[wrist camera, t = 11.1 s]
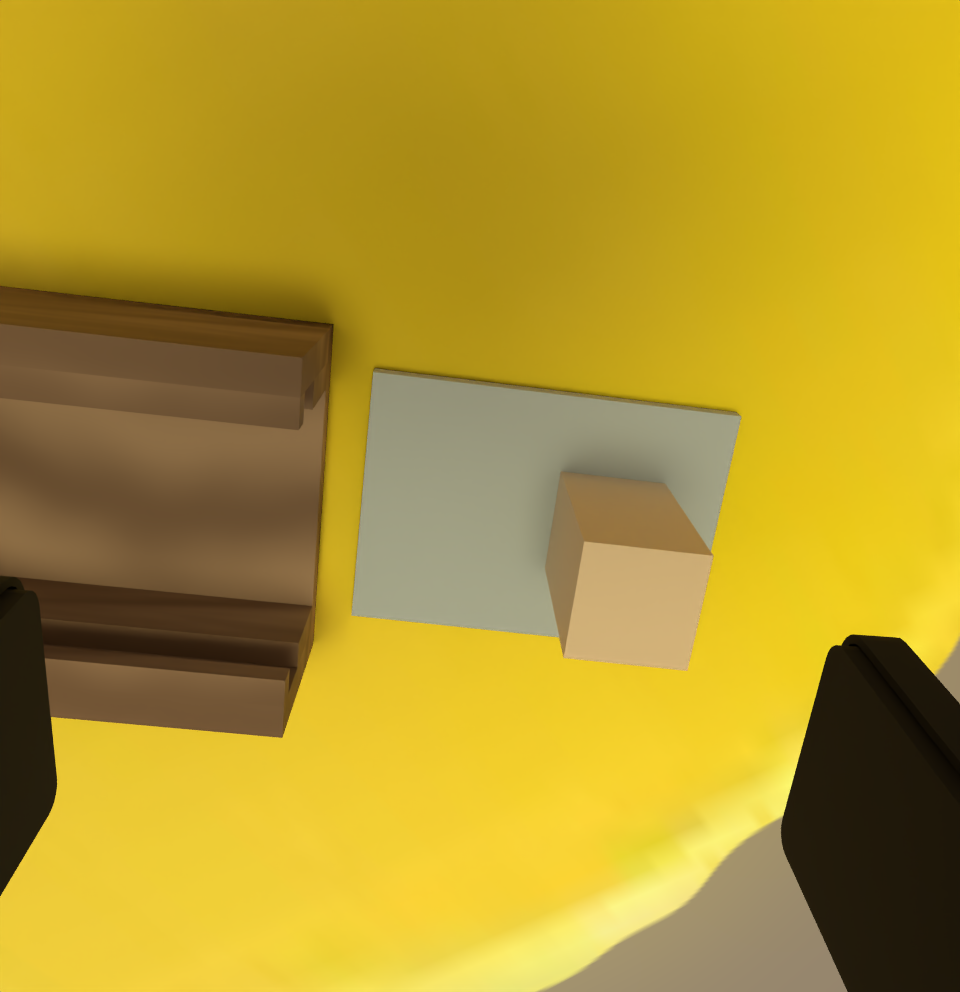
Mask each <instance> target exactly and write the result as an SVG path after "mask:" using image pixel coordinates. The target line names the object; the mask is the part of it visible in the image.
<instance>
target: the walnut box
mask: <svg viewBox="0 0 960 992" xmlns="http://www.w3.org/2000/svg"><path fill="white" fill-rule="evenodd" d="M333 325H334V324H326V323H317V322H308V321H300V320H291V319H282V318H273V317H265V316H256V315H247V314H238V313H230V312H221V311H212V310H204V309H195V308H186V307H177V306H169V305H160V304H151V303H142V302H134V301H125V300H116V299H107V298H99V297H90V296H81V295H72V294H64V293H55V292H46V291H38V290H29V289H20V288H11V287H3V286H0V576H9V577H17V578H18V579H19V580H20V581H21V583H22V585H23V587H24V590H31V591H34V592H35V593H36V595H37V597H38V600H39V606H40V616H41V625H42V635H43V645H44V655H45V665H46V675H47V685H48V695H49V705H50V715H51V717H58V718H70V719H81V720H92V721H103V722H114V723H125V724H136V725H147V726H158V727H170V728H181V729H192V730H203V731H214V732H225V733H236V734H247V735H258V736H269V737H281V738H282V737H283V734H284V731H285V728H286V725H287V722H288V719H289V716H290V713H291V710H292V707H293V703H294V700H295V697H296V694H297V691H298V688H299V685H300V682H301V679H302V676H303V673H304V670H305V667H306V664H307V661H308V658H309V655H310V652H311V649H312V646H313V638H314V622H315V607H316V591H317V575H318V560H319V544H320V528H321V513H322V497H323V481H324V466H325V450H326V434H327V419H328V403H329V387H330V372H331V356H332V340H333Z"/></svg>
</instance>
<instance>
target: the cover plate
mask: <svg viewBox="0 0 960 992" xmlns="http://www.w3.org/2000/svg"><path fill="white" fill-rule="evenodd" d="M740 420H741V416H740V415H739V414H738V413H737V412H730V411H722V410H714V409H705V408H697V407H689V406H681V405H673V404H664V403H656V402H648V401H640V400H631V399H623V398H615V397H607V396H598V395H590V394H582V393H574V392H566V391H557V390H549V389H541V388H533V387H524V386H516V385H508V384H500V383H491V382H483V381H475V380H467V379H459V378H450V377H442V376H434V375H426V374H417V373H409V372H401V371H393V370H384V369H376V368H375V369H374V371H373V380H372V392H371V403H370V414H369V425H368V437H367V448H366V459H365V470H364V482H363V493H362V504H361V515H360V527H359V538H358V549H357V561H356V572H355V583H354V594H353V606H352V615H353V616H362V617H372V618H381V619H391V620H400V621H410V622H419V623H429V624H438V625H448V626H457V627H467V628H476V629H486V630H495V631H505V632H514V633H524V634H533V635H543V636H552V637H559V638H560V643H561V648H562V652H563V657H564V658H570V659H580V660H589V661H599V662H608V663H618V664H628V665H637V666H647V667H657V668H666V669H676V670H685V671H687V670H688V665H689V661H690V657H691V652H692V648H693V643H694V639H695V635H696V630H697V626H698V622H699V617H700V613H701V608H702V604H703V600H704V595H705V591H706V586H707V582H708V578H709V573H710V569H711V565H712V560H713V554H712V553H711V548H712V544H713V539H714V535H715V530H716V526H717V522H718V517H719V513H720V508H721V504H722V500H723V495H724V491H725V486H726V482H727V477H728V473H729V469H730V464H731V460H732V455H733V451H734V447H735V442H736V438H737V433H738V429H739V425H740Z"/></svg>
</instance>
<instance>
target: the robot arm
mask: <svg viewBox="0 0 960 992" xmlns="http://www.w3.org/2000/svg"><path fill="white" fill-rule="evenodd" d="M56 789H57V775H56V765H55V755H54V745H53V735H52V725H51V715H50V705H49V695H48V685H47V675H46V665H45V655H44V645H43V635H42V625H41V616H40V606H39V600H38V597H37V595H36V593H35V592H34V591H31V590H24V587H23V585H22V583H21V581H20V580H19V579H18V578H17V577H9V576H0V896H1V894H2V892H3V891H4V889H5V887H6V886H7V884H8V882H9V881H10V879H11V877H12V876H13V874H14V872H15V871H16V869H17V867H18V866H19V864H20V862H21V861H22V859H23V857H24V856H25V854H26V852H27V850H28V849H29V847H30V845H31V844H32V842H33V840H34V839H35V837H36V835H37V834H38V832H39V830H40V829H41V827H42V825H43V824H44V822H45V820H46V819H47V817H48V815H49V813H50V811H51V809H52V806H53V803H54V800H55V795H56ZM781 838H782V845H783V850H784V852H785V855H786V857H787V860H788V862H789V864H790V866H791V868H792V870H793V872H794V875H795V877H796V879H797V882H798V884H799V886H800V888H801V890H802V893H803V895H804V897H805V899H806V901H807V903H808V906H809V908H810V910H811V912H812V914H813V917H814V919H815V921H816V923H817V925H818V928H819V929H820V932H821V934H822V936H823V938H824V941H825V943H826V945H827V947H828V950H829V952H830V954H831V956H832V958H833V960H834V963H835V965H836V967H837V969H838V972H839V974H840V976H841V978H842V980H843V983H844V984H845V987H846V989H847V991H848V992H960V704H959V702H958V701H957V700H956V699H955V698H954V697H953V696H952V695H951V694H950V692H949V691H948V690H947V689H946V688H945V687H944V686H943V684H942V683H941V682H940V681H939V680H938V679H937V677H936V676H935V675H934V674H933V673H932V672H931V671H930V670H929V668H928V667H927V666H926V665H925V664H924V663H923V662H922V660H921V659H920V658H919V657H918V656H917V655H916V654H915V652H914V651H913V650H912V649H911V648H910V647H909V646H908V645H907V643H906V642H904V641H903V640H902V639H901V638H895V637H881V636H866V635H850V636H848V637H847V638H846V639H845V640H844V642H843V643H842V646H839V645H835V646H833V647H832V648H831V649H830V650H829V652H828V655H827V657H826V661H825V664H824V668H823V672H822V675H821V679H820V683H819V686H818V690H817V694H816V698H815V701H814V705H813V709H812V712H811V716H810V720H809V723H808V727H807V731H806V734H805V738H804V742H803V745H802V749H801V753H800V757H799V760H798V764H797V768H796V771H795V775H794V779H793V782H792V786H791V790H790V793H789V797H788V801H787V804H786V808H785V812H784V815H783V820H782V825H781Z"/></svg>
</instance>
